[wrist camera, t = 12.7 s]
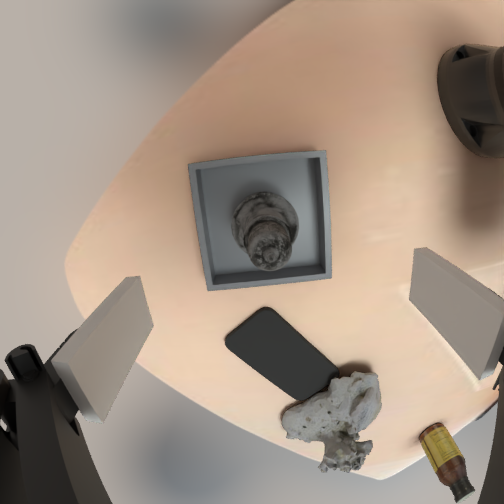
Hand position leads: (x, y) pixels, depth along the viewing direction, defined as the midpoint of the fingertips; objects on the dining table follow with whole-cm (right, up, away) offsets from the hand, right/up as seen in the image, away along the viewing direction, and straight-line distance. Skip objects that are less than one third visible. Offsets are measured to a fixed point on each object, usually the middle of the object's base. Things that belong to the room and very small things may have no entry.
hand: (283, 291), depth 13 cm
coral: (+11, -21, +25) cm, 34 cm away
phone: (-3, -6, +19) cm, 21 cm away
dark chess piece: (0, +5, +16) cm, 17 cm away
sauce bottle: (+36, -35, +30) cm, 59 cm away
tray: (0, +5, +16) cm, 17 cm away
